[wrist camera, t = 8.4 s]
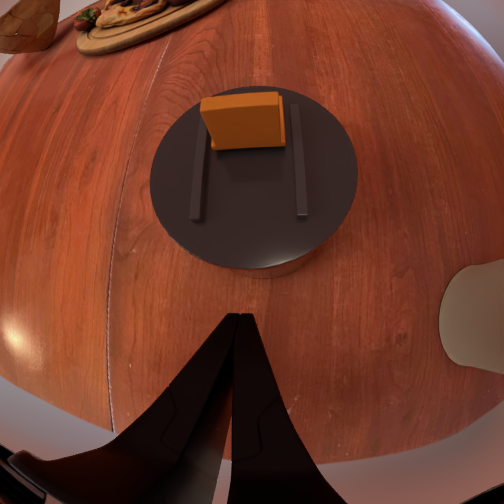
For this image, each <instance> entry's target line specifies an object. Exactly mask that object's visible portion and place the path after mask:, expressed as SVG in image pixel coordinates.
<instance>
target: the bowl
mask: <svg viewBox="0 0 504 504" xmlns="http://www.w3.org/2000/svg"><path fill="white" fill-rule="evenodd" d="M59 13H60V0H20V1H18V2H17V3H16V4H15V5H14V6H13V7H12V8H11V9H10V10H9V11H8V12H7V13H5V14H4V15H3V16H1V17H0V53H5V54H20V53H33V52H39V51H43V50H45V49H47V48H48V47H49V46H50V44H51V43H52V41H53V39H54V36H55V33H56V29H57V24H58V18H59ZM16 33H17V34H16ZM15 34H16V35H15Z"/></svg>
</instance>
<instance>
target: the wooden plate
mask: <svg viewBox="0 0 504 504" xmlns="http://www.w3.org/2000/svg"><path fill="white" fill-rule="evenodd" d="M223 1H225V0H108V1H107V2H106V3H105V8H104V9H103V10H102V11H100V9H99V8H97V7H92V8H91V7H89V8H85V9H83V10H81V11H79V12H78V13H77V14H76V16H75V21H74V28H75V29H76V30H77V31H81V33H80V34H79V36H78V39H77V43H76V45H77V49H78V51H79V52H80V53H81V54H84V55H91V56H94V55H102V54H106V53H111V52H114V51H117V50H121V49H123V48H126V47H129V46H132V45H135V44H137V43H140V42H142V41H145V40H148V39H150V38H153V37H155V36H157V35H160V34H162V33H164V32H166V31H169V30H171V29H173V28H175V27H178V26H180V25H182V24H184V23H186V22H188V21H190V20H192V19H194V18H196V17H198V16H200V15H202V14H204V13H206V12H207V11H209V10H211V9H212V8H214V7H216V6H217V5H219V4H220V3H222V2H223Z"/></svg>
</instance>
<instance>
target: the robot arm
mask: <svg viewBox="0 0 504 504" xmlns="http://www.w3.org/2000/svg"><path fill="white" fill-rule="evenodd" d="M231 415H232V468H231V469H232V470H231V482H230V489H229V495H228V501H227V504H347V503H346V502H345V501H344V500H343V499H342V498H341V496H339V494H338V493H337V492H336V491H335V490H334V489H333V488H332V487H331V485H330V484H329V483H328V482H327V481H326V480H325V478H324V477H323V476H322V474H321V473H320V471H319V470H318V468H317V467H316V465H315V463H314V462H313V460H312V458H311V456H310V455H309V453H308V451H307V450H306V448H305V446H304V444H303V443H302V441H301V439H300V437H299V435H298V434H297V432H296V430H295V428H294V426H293V424H292V422H291V420H290V417H289V415H288V413H287V410H286V408H285V405H284V402H283V399H282V396H280V391H279V388H278V385H277V383H276V380H275V377H274V374H273V371H272V368H271V365H270V362H269V360H268V357H267V354H266V351H265V348H264V345H263V342H262V339H261V336H260V333H259V330H258V327H257V324H256V321H255V318H254V315H253V314H252V313H242V314H241V315H240V314H239V313H228V314H227V315H226V316H225V317H224V318H223V319H222V321H221V322H220V323H219V324H218V326H217V327H216V328H215V329H214V331H213V332H212V333H211V334H210V336H209V337H208V338H207V339H206V340H205V342H204V343H203V344H202V345H201V347H200V348H199V349H198V350H197V352H196V353H195V354H194V355H193V356H192V358H191V359H190V360H189V361H188V362H187V364H186V365H185V366H184V367H183V369H182V370H181V371H180V372H179V373H178V375H177V376H176V377H175V378H174V379H173V381H172V382H171V383H170V384H169V387H167V388H166V389H165V390H164V391H163V392H162V394H161V395H160V396H159V397H158V398H157V399H156V400H155V401H154V403H153V404H152V405H151V406H150V407H149V408H148V409H147V410H146V411H145V412H144V413H143V414H142V415H141V416H140V417H138V418H137V419H136V420H135V421H134V422H133V423H132V424H131V425H130V426H128V427H127V428H126V429H125V430H124V431H123V432H122V433H121V434H120V435H118V436H117V437H116V438H115V439H114V440H112V441H111V442H109V443H108V444H106V445H104V446H102V447H100V448H97V449H94V450H91V451H87V452H84V453H80V454H76V455H73V456H69V457H64V458H61V459H56V460H50V461H45V460H43V459H41V458H39V457H37V456H36V455H34V454H32V453H30V452H28V451H26V450H22V451H19V452H17V453H15V452H13V451H12V450H10V449H8V448H7V447H5V446H4V445H2V444H1V443H0V504H212V500H213V496H214V492H215V487H216V483H217V478H218V474H219V469H220V465H221V461H222V456H223V452H224V447H225V443H226V438H227V434H228V429H229V424H230V420H231ZM460 504H504V483H502V484H500V485H497V486H495V487H492V488H490V489H488V490H486V491H484V492H482V493H481V494H478V495H476V496H474V497H472V498H470V499H468V500H466V501H464V502H462V503H460Z"/></svg>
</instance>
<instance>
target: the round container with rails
mask: <svg viewBox="0 0 504 504" xmlns="http://www.w3.org/2000/svg"><path fill="white" fill-rule="evenodd" d="M258 92H278V93H279V96H282V101H283V114H284V128H285V146H276V147H253V148H237V149H224V150H213V149H212V147H211V143H212V137H211V135H210V133H209V131H208V128H207V126H206V124H205V122H204V119H203V117H202V115H201V113H200V106H201V102H199V103H198V104H196V105H194V106H193V107H192V108H190V109H189V110H188V111H186V112H185V113H184V114H183V115H182V116H181V117H180V118H179V119H177V121H176V122H175V123H174V124H173V125H172V126H171V127H170V129H169V130H168V131H167V133H166V134H165V136H164V137H163V139H162V141H161V143H160V144H159V146H158V148H157V151H156V154H155V156H154V159H153V163H152V167H151V174H150V194H151V199H152V204H153V207H154V210H155V213H156V216H157V218H158V219H159V221H160V223H161V225H162V227H163V228H164V229H165V231H166V232H167V233H168V235H169V236H170V237H171V238H172V239H173V240H174V241H175V242H176V243H177V244H178V245H179V246H180V247H182V248H183V249H184V250H186V251H187V252H189V253H190V254H191V255H193V256H195V257H197V258H199V259H201V260H203V261H205V262H207V263H209V264H212V265H215V266H218V267H221V268H225V269H230V270H231V271H233V272H235V273H237V274H240V275H243V276H246V277H250V278H257V279H269V278H276V277H280V276H283V275H286V274H289V273H291V272H293V271H295V270H297V269H298V268H300V267H301V266H302V265H304V264H305V263H306V262H307V261H308V260H309V259H310V258H311V257H312V256H313V255H314V253H315V252H316V251H317V249H318V248H319V247H321V246H322V245H323V244H324V243H325V242H326V241H327V240H328V239H329V238H330V237H331V236H332V235H333V234H334V233H335V231H336V230H337V229H338V228H339V226H340V225H341V223H342V222H343V220H344V218H345V217H346V215H347V213H348V211H349V210H350V207H351V205H352V202H353V199H354V197H355V192H356V188H357V179H358V168H357V159H356V155H355V151H354V148H353V145H352V143H351V140H350V138H349V136H348V134H347V133H346V131H345V129H344V128H343V126H342V125H341V124H340V123H339V121H338V120H337V119H336V118H335V117H334V116H333V115H332V114H331V113H330V112H329V111H328V110H327V109H326V108H324V107H323V106H321V105H320V104H319V103H317V102H316V101H314V100H312V99H310V98H308V97H306V96H304V95H302V94H299V93H297V92H294V91H290V90H287V89H282V88H277V87H268V86H249V87H241V88H236V89H231V90H227V91H224V92H221V93H218V94H215V95H213V96H211V97H215V96H224V95H233V94H244V93H258Z"/></svg>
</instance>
